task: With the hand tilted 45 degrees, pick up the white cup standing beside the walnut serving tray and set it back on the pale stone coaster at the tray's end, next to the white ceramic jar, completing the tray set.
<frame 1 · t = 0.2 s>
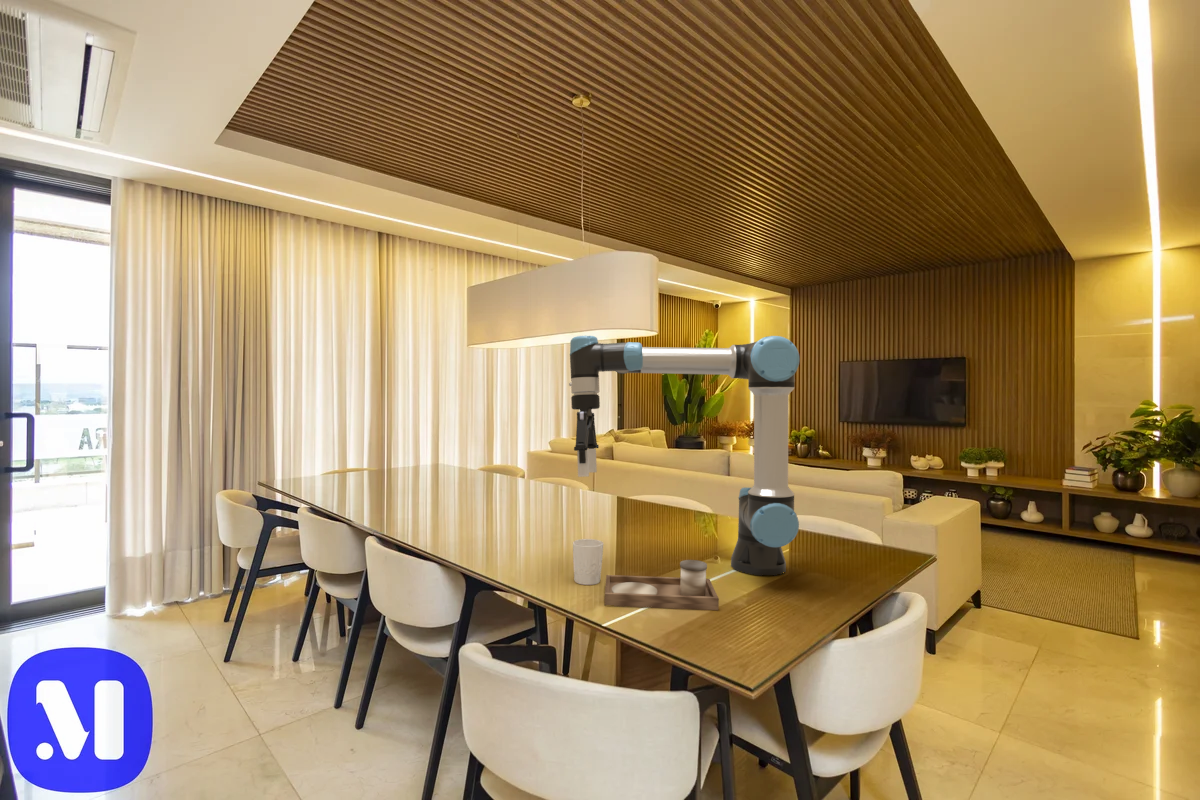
hand: (587, 474, 152), 27 cm above the table, tool pointing down, fingers open, 13 cm apart
tray: (659, 597, 138), on the table
white cup: (587, 581, 149), on the table
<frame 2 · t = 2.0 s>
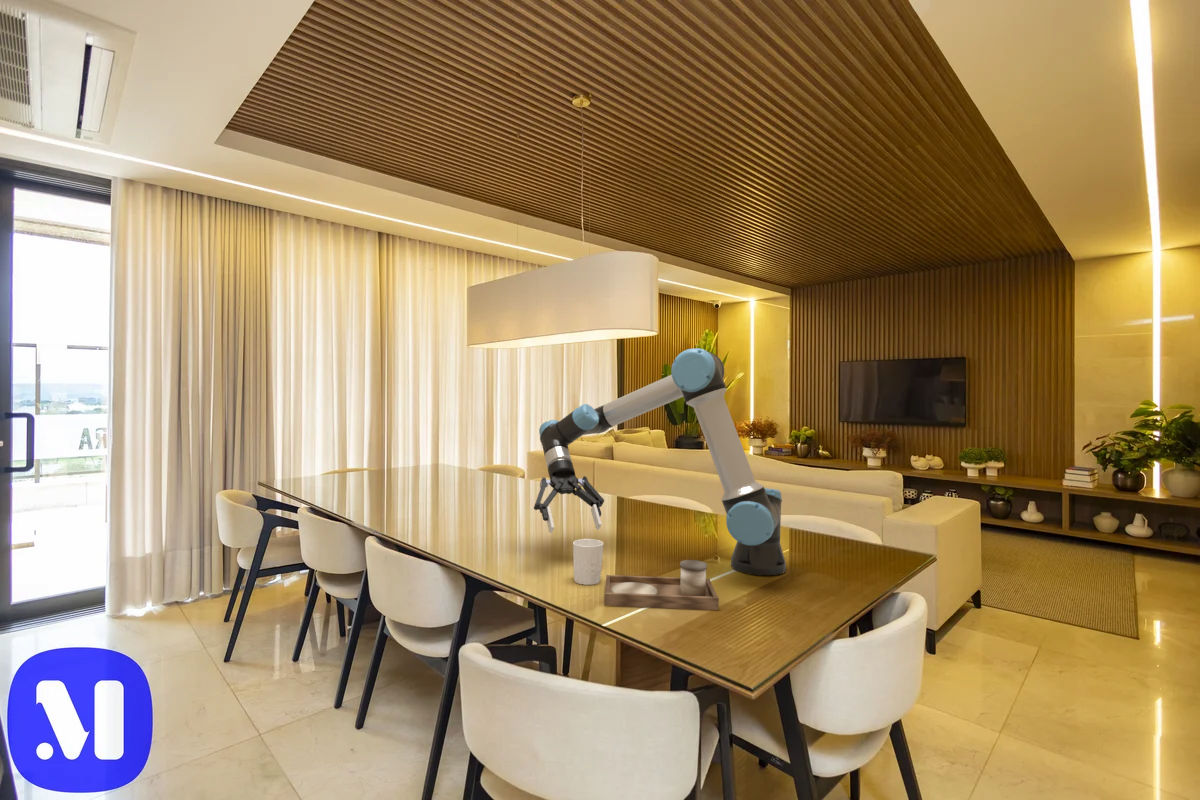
hand: (575, 528, 156), 12 cm above the table, tool tilted 45°, fingers open, 13 cm apart
nothing on the table moved.
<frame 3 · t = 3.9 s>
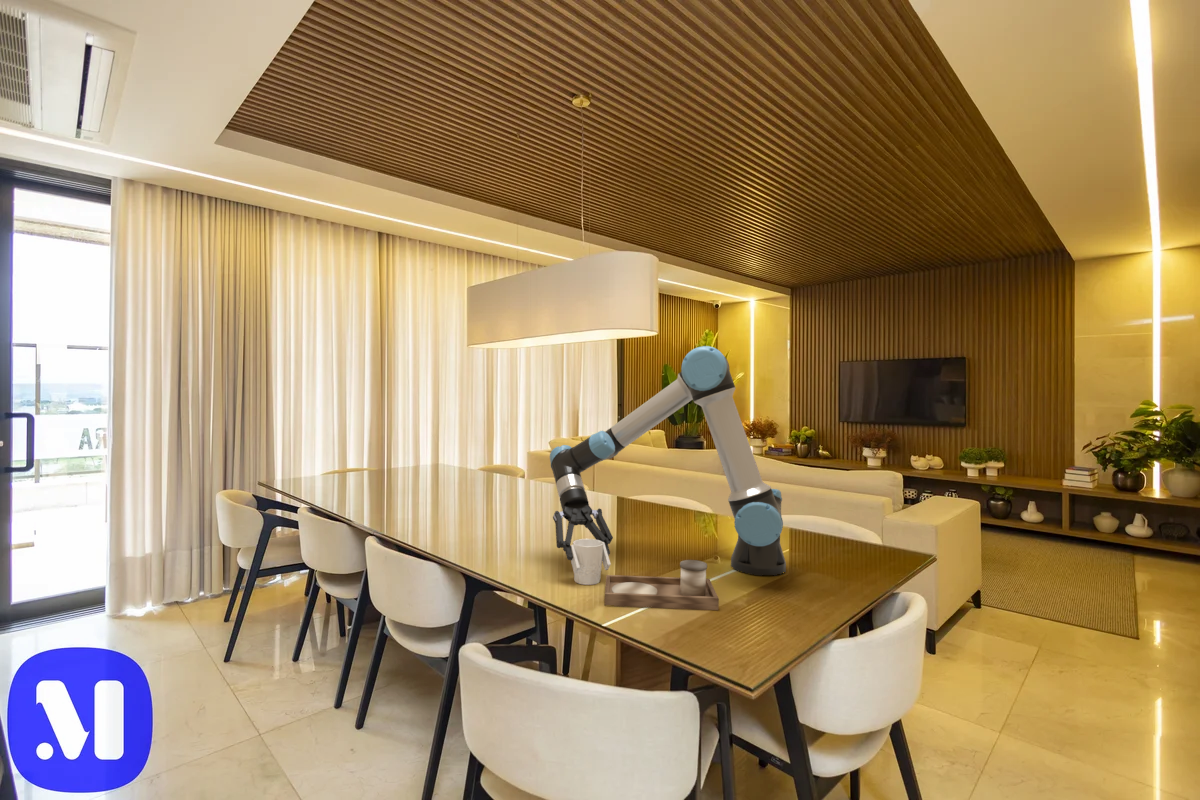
hand: (592, 568, 146), 4 cm above the table, tool tilted 45°, fingers closed on white cup, 8 cm apart
white cup: (587, 581, 149), on the table, touching gripper
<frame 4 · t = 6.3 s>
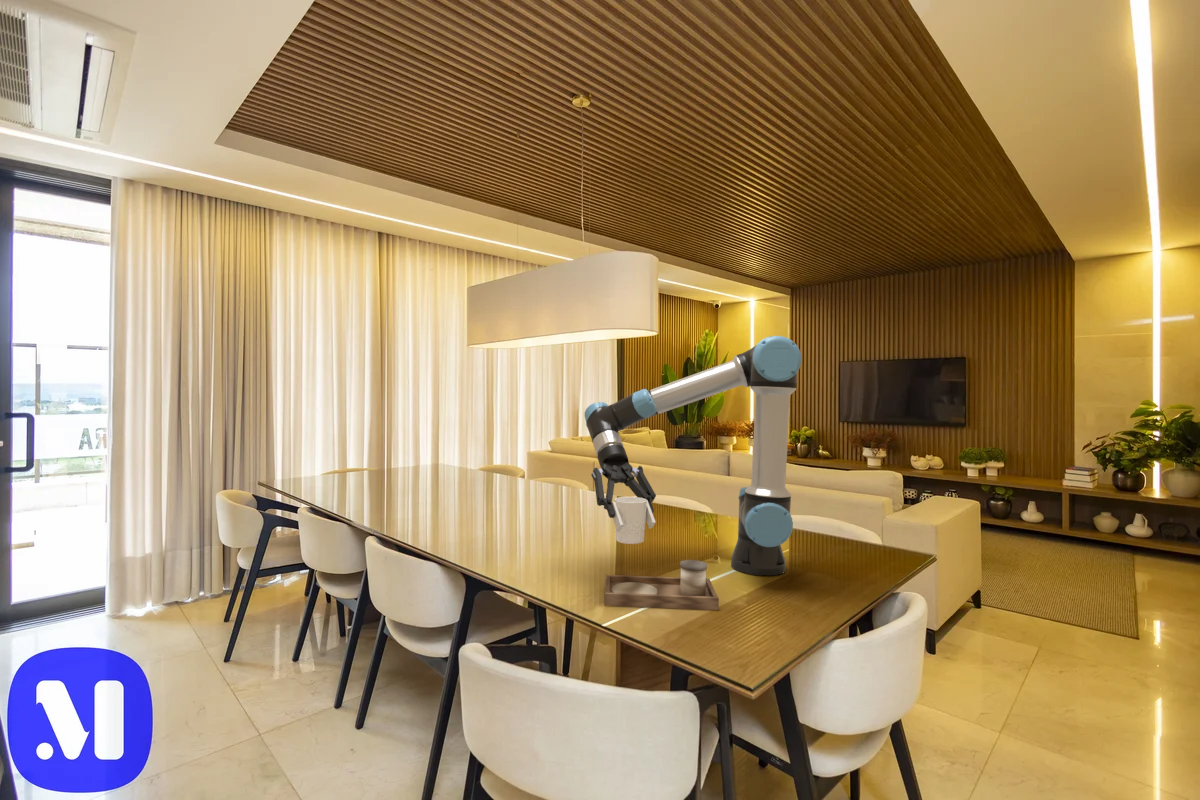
hand: (636, 526, 136), 17 cm above the table, tool tilted 45°, fingers closed on white cup, 8 cm apart
white cup: (629, 541, 140), point 13 cm above the table, touching gripper
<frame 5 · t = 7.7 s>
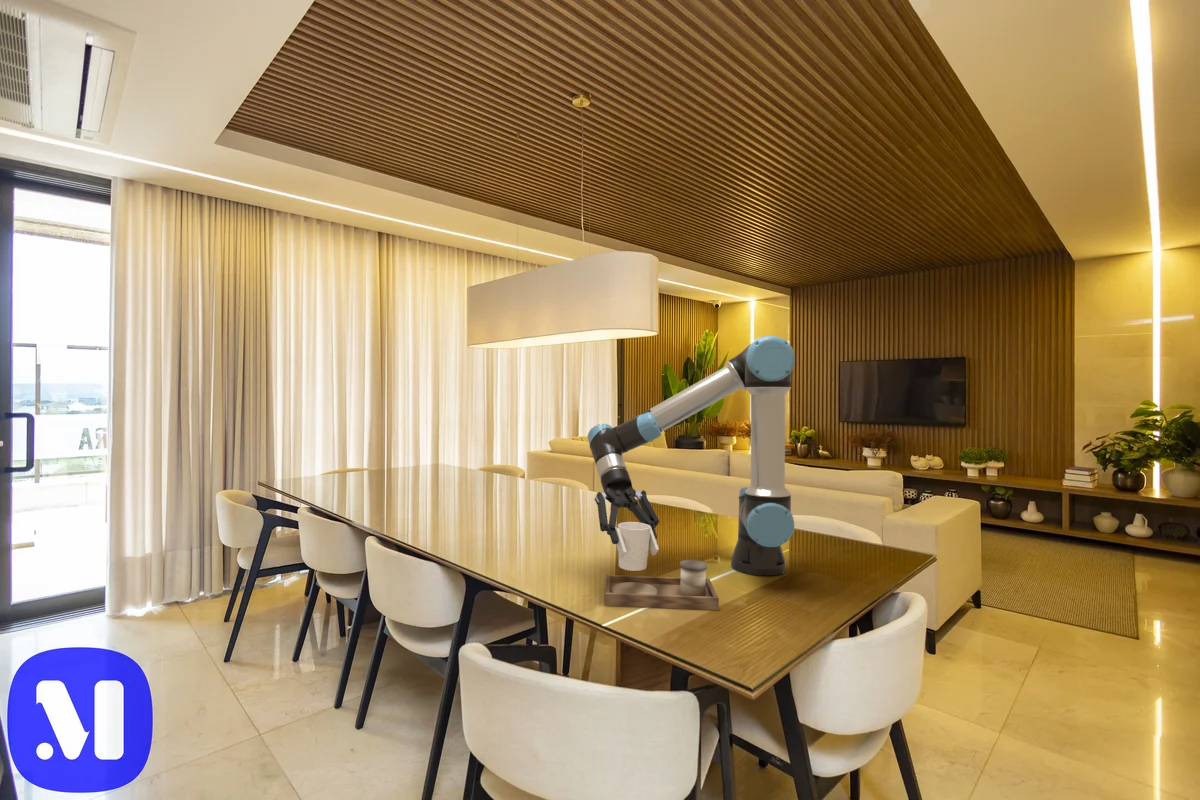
hand: (639, 553, 136), 11 cm above the table, tool tilted 45°, fingers closed on white cup, 8 cm apart
white cup: (632, 567, 139), point 7 cm above the table, touching gripper
when the fingers open (7 cm above the table, at t = 9.0 s): white cup stays where it is, resting on tray.
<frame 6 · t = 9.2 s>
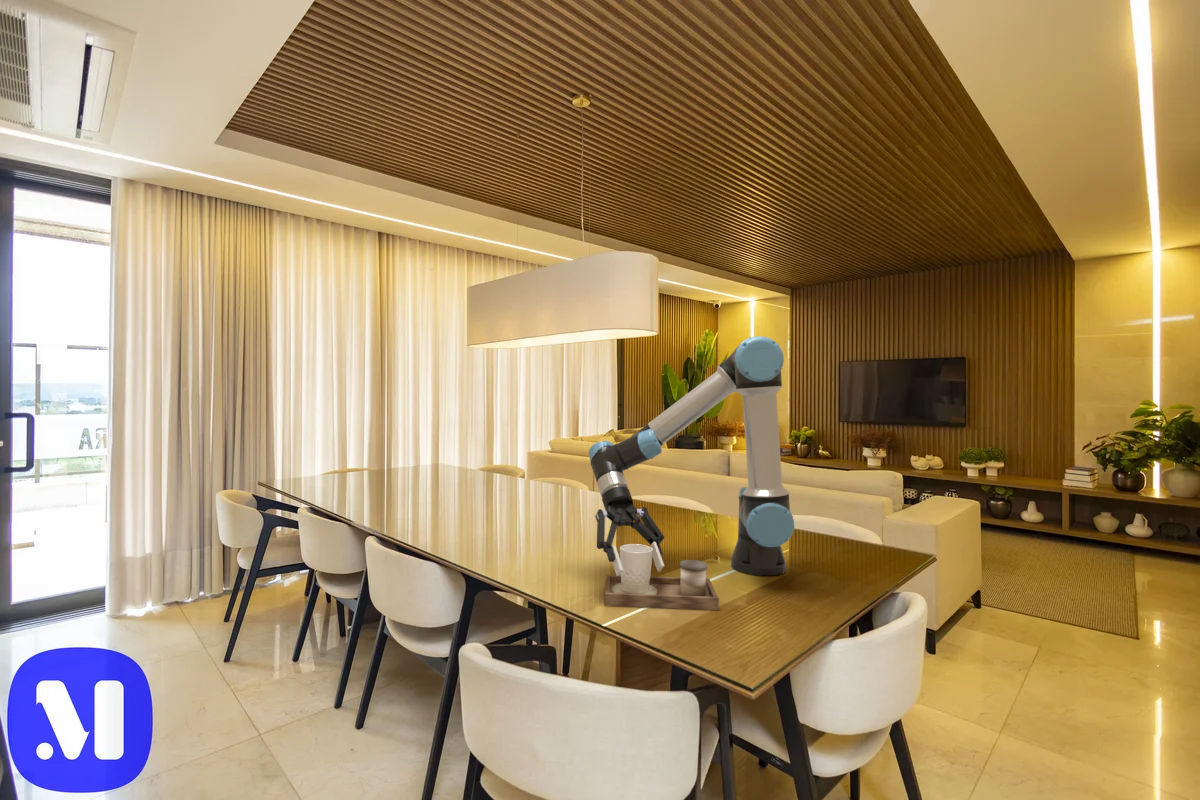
hand: (640, 570, 136), 7 cm above the table, tool tilted 45°, fingers open, 10 cm apart
white cup: (634, 590, 139), point 1 cm above the table, touching tray
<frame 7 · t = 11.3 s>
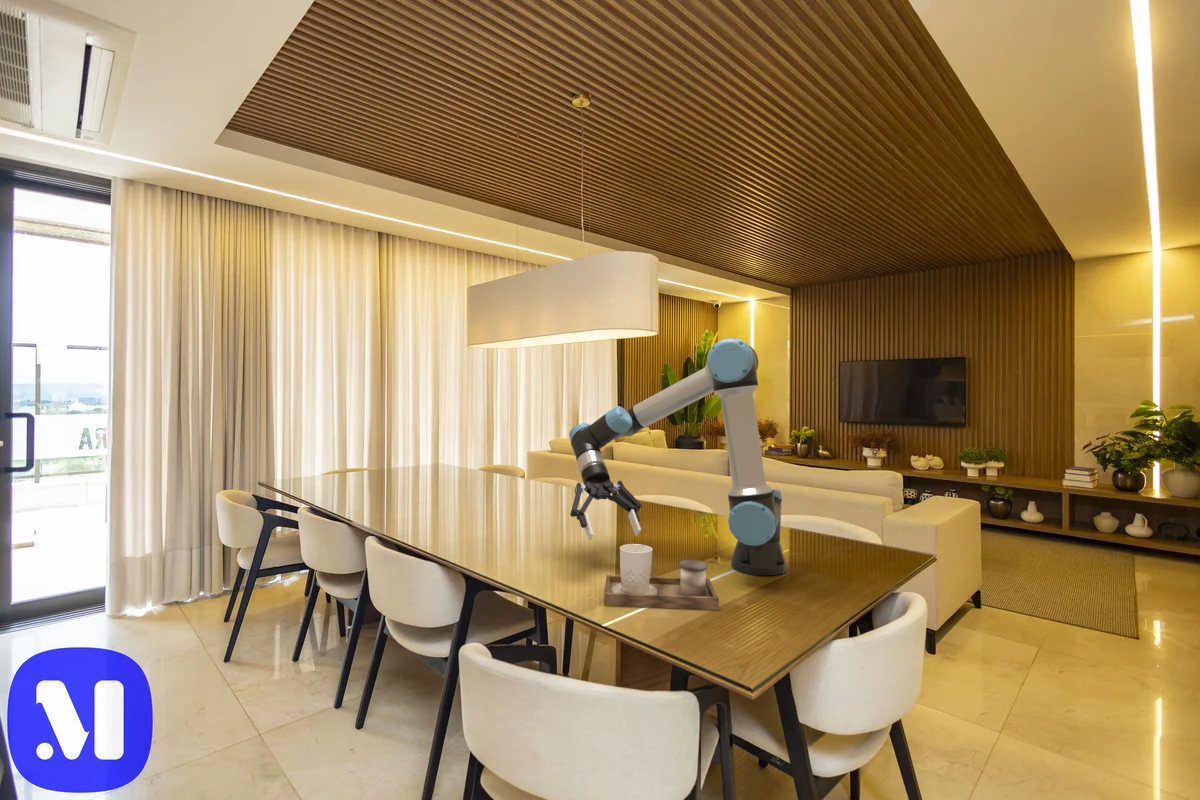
hand: (615, 535, 150), 12 cm above the table, tool tilted 45°, fingers open, 13 cm apart
nothing on the table moved.
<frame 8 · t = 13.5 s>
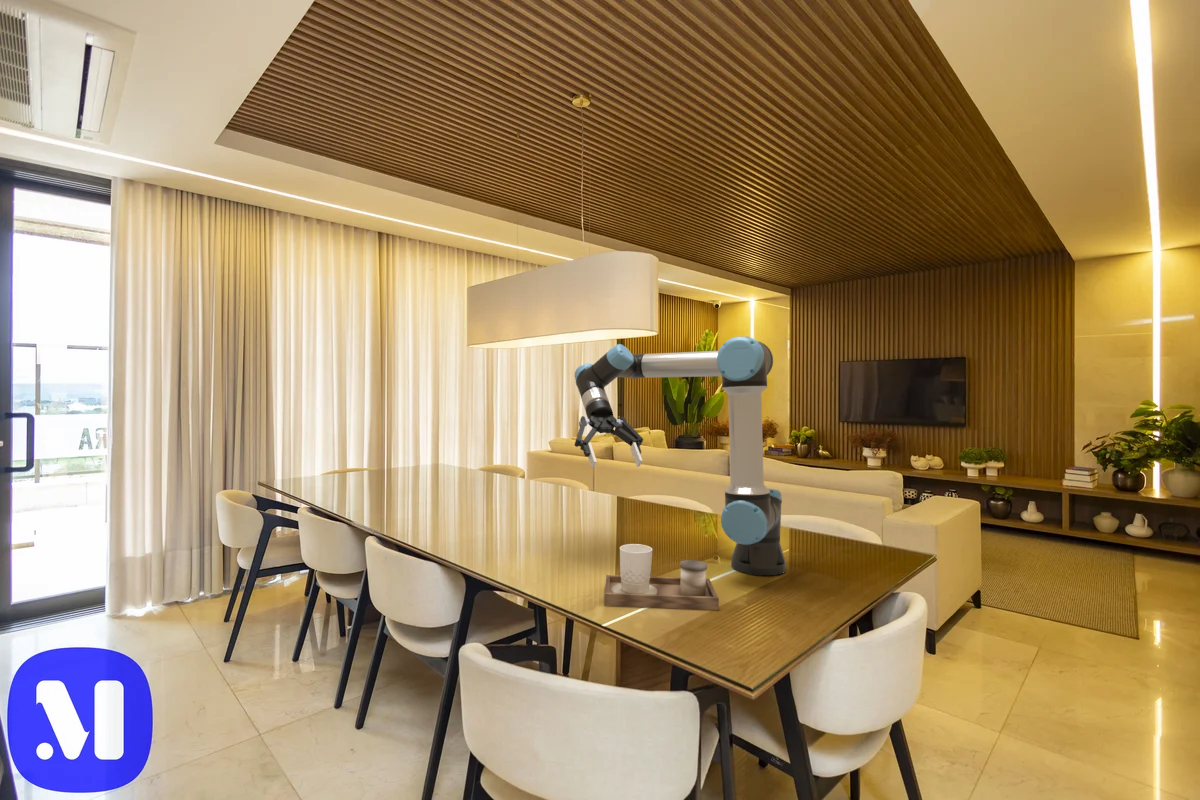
hand: (617, 464, 155), 30 cm above the table, tool tilted 45°, fingers open, 13 cm apart
nothing on the table moved.
at the end: white cup inside the target area (0.1 cm from its centre), point 1.4 cm above the table; white cup tilted 0°; the gripper is holding nothing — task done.
